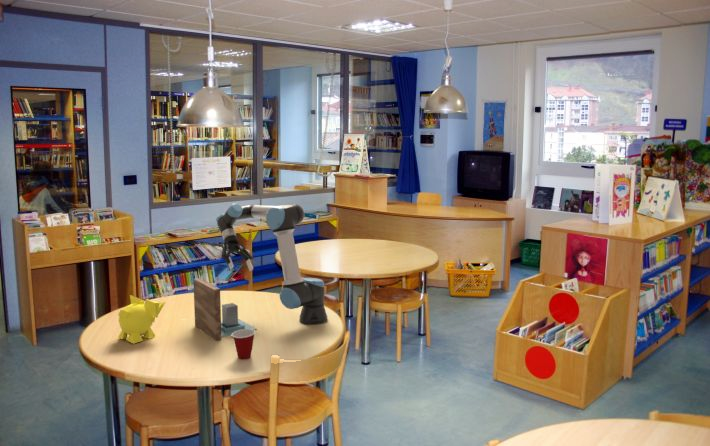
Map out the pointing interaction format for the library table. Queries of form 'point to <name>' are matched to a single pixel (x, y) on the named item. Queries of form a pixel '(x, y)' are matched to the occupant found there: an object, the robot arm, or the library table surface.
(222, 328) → the socket
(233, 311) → the bar
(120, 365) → the library table surface
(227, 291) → the library table surface
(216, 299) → the door panel
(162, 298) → the library table surface
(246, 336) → the plastic cup
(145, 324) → the piggy bank
